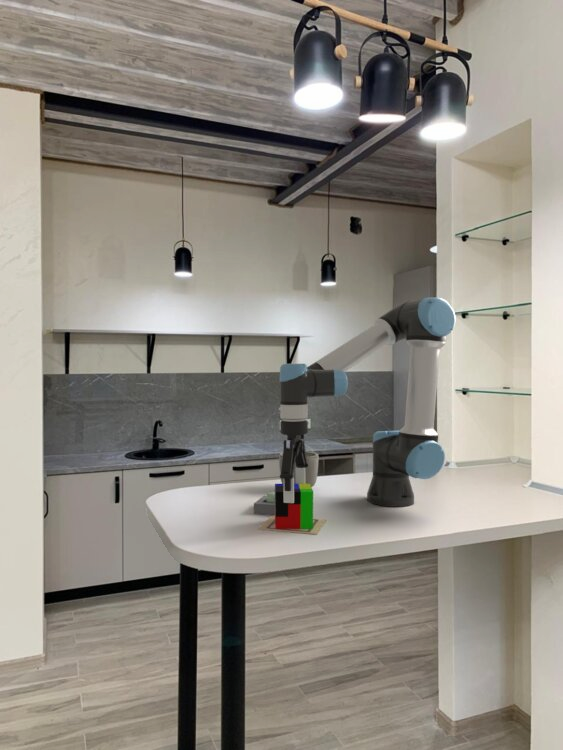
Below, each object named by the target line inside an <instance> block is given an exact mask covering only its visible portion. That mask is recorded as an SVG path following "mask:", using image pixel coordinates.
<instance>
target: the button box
mask: <svg viewBox="0 0 563 750" xmlns="http://www.w3.org/2000/svg"><path fill="white" fill-rule="evenodd" d="M266 496H267V495H262V496H261V497H260V498H259V499H257V501H255V502H254V503H253V514H256V515H257V514H258V515H267V516H268V515H270V516H272V515H273V516H275V503H266Z"/></svg>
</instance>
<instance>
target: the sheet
mask: <svg viewBox="0 0 563 750" xmlns="http://www.w3.org/2000/svg"><path fill="white" fill-rule="evenodd" d="M326 522H327V519H320V518H319V519H318V518H313V529H276V528H275V515H270V517H269V518H268V519H266V520H265V521H264V522H263V523H262V524H261V525H260V526H259V527H258V528H257V529H258V530H260V529H262V530H261V531H271V530H274V531H273V532H283V533H292V534H293V533H295V534H305V535H319V532H320V531H321V529H322V527H323V526H324V524H326Z"/></svg>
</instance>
